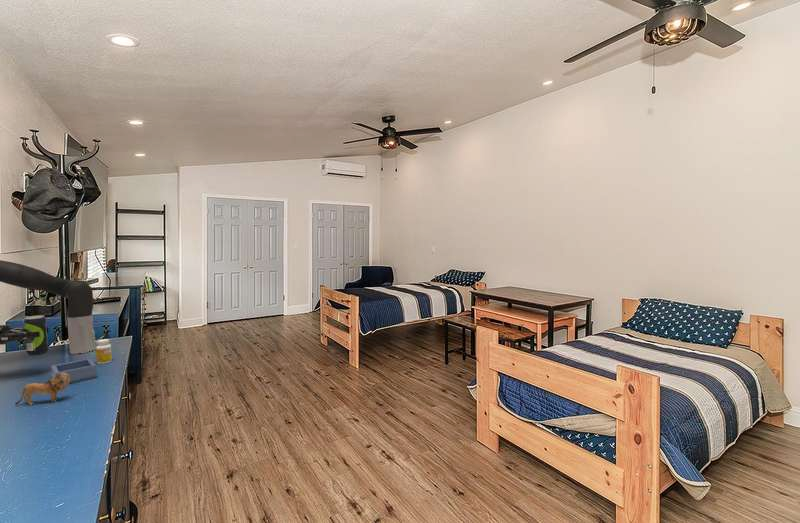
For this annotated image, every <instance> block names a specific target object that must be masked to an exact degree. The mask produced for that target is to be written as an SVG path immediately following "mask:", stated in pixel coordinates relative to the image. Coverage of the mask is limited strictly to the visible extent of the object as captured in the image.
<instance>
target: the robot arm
mask: <svg viewBox="0 0 800 523" xmlns="http://www.w3.org/2000/svg"><path fill="white" fill-rule="evenodd" d="M0 282H1V283H4V284H7V285H11V286H15V287H17V288H22V289H26V290H31V291H33V290H34V291H40V292H47V293H50V294H54V295H57V296H61V297H63V298H65V299H68V300H67V301H68V302H67V305H68V307H67V311H66V318H67V319H66V321H67V322H66V323H67V331H68V332H67V334H68V347H69V354H71V355H79V353H81V354H86V353H89V351H90V352H93V351H96V347H97V346H96V336H95V335H96V334H95V330H94V321H93V310H94V296H93V295H94V294H93V293H94V292H93V288H92V286H90V285H89V283H86V282H82V281H78V280H71V279H65V278H61V277H57V276H55V275H51V274H50V273H48V272H45V271H42V270H40V269H37V268H35V267H32V266H28V265H24V264H21V263H17V262H13V261H6V260H0ZM46 329H47V334H48V333H49V332H50V327H48V326H46ZM27 337H28V338H35V337H40V332H39V331H37V332H25V326H22V327H16V328H15V327H14V328H13V329H12V328H11V326H9V325H8V324H2V325H1V324H0V345H6V344H8V343H9V342H17V341H23V340H26V339H27ZM92 350H93V351H92Z"/></svg>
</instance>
